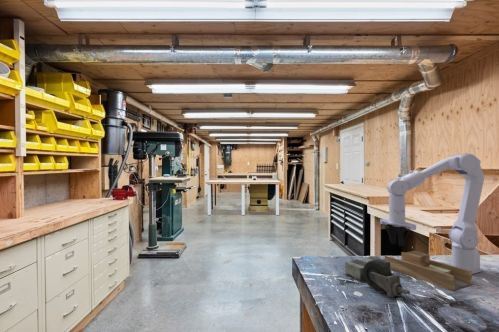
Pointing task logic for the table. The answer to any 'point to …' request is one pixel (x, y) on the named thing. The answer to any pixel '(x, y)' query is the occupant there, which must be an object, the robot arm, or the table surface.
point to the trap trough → (433, 273)
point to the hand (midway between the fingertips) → (397, 245)
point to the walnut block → (417, 258)
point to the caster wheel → (383, 278)
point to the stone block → (360, 267)
